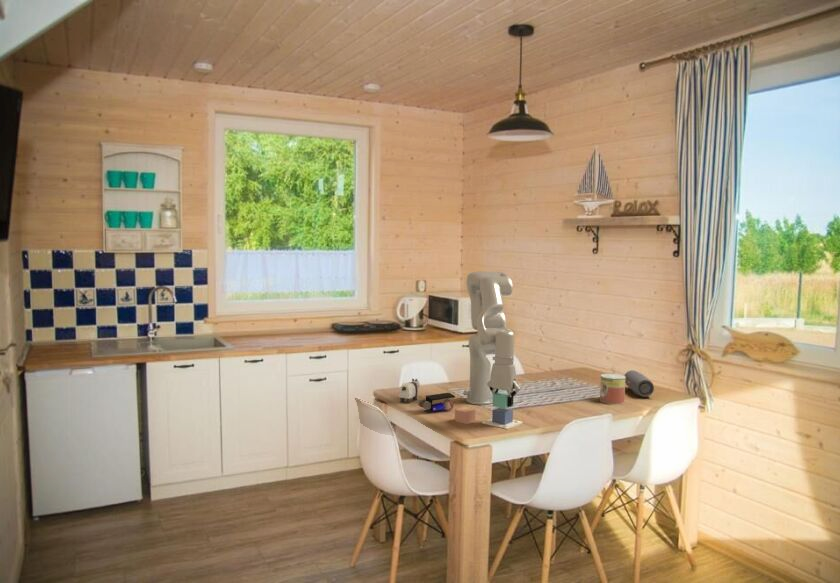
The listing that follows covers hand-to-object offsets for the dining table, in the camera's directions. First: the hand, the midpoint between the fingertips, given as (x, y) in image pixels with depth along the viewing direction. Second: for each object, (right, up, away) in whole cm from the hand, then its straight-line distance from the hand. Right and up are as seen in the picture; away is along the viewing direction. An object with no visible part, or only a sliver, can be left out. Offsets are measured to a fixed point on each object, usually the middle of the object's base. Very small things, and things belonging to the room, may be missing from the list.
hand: (502, 404), depth 267 cm
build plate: (0, -8, +1) cm, 8 cm away
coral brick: (-15, -7, +3) cm, 17 cm away
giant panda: (-38, -5, +36) cm, 53 cm away
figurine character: (-26, -6, +17) cm, 32 cm away
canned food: (+56, -6, +41) cm, 70 cm away
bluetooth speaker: (+74, -5, +57) cm, 94 cm away
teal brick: (0, -1, 0) cm, 1 cm away
